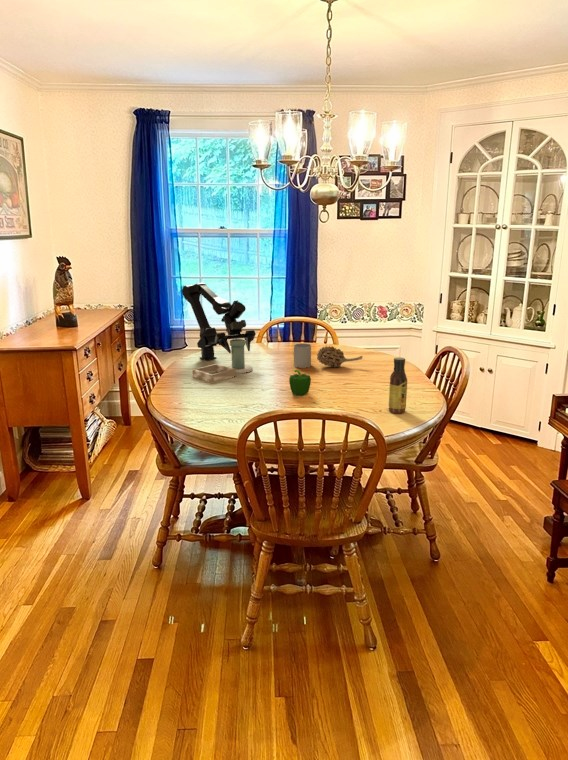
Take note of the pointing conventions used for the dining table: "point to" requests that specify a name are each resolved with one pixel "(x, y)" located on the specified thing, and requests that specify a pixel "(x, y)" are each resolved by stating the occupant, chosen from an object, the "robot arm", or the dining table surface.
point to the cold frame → (204, 374)
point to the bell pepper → (299, 383)
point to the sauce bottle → (398, 387)
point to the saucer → (246, 369)
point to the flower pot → (237, 353)
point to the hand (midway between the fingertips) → (239, 351)
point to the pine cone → (333, 356)
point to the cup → (302, 355)
